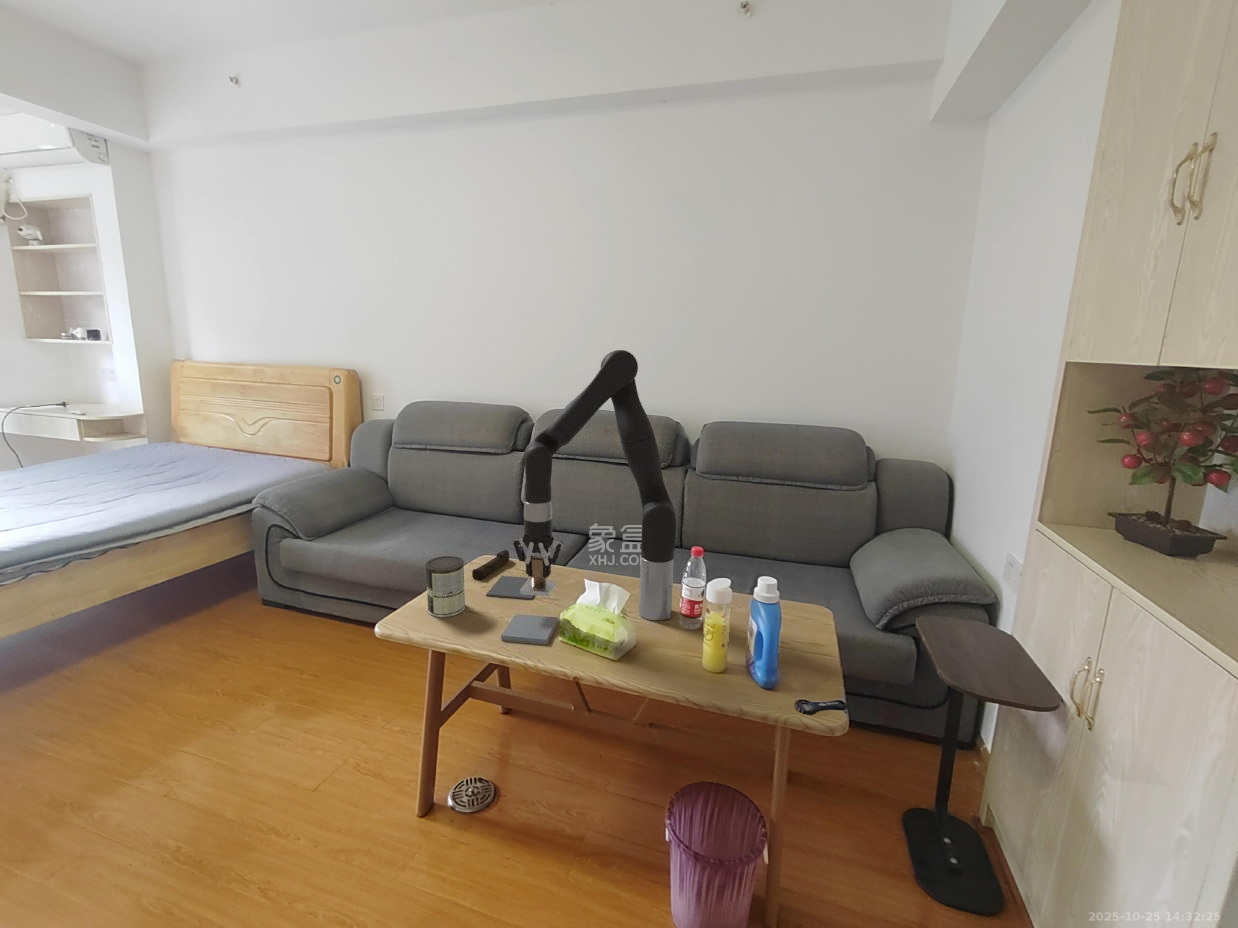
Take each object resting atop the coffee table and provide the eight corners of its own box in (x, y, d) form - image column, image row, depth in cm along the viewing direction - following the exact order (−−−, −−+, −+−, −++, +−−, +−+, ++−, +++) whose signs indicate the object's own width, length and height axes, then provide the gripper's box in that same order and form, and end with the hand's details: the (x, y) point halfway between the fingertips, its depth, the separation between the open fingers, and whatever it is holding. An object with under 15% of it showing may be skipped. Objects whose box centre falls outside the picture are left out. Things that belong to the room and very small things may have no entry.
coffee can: (419, 612, 156) (417, 565, 153) (445, 597, 165) (443, 553, 162) (447, 620, 152) (445, 572, 149) (472, 605, 161) (471, 559, 158)
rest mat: (543, 580, 179) (543, 578, 179) (531, 599, 165) (531, 597, 165) (501, 577, 181) (501, 575, 181) (486, 595, 167) (486, 594, 167)
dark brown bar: (481, 582, 177) (481, 568, 176) (471, 579, 179) (471, 566, 178) (515, 562, 194) (515, 549, 194) (506, 560, 196) (505, 547, 195)
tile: (558, 617, 152) (546, 639, 141) (558, 623, 153) (546, 645, 141) (515, 613, 154) (501, 635, 142) (515, 619, 154) (501, 641, 142)
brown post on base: (556, 584, 157) (556, 553, 155) (548, 596, 149) (548, 564, 147) (528, 581, 158) (528, 551, 156) (520, 593, 150) (519, 561, 148)
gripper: (567, 514, 152) (566, 572, 155) (517, 510, 154) (517, 568, 157) (560, 522, 145) (560, 583, 148) (507, 518, 146) (508, 579, 150)
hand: (538, 575), depth 153 cm, fingers closed on brown post on base, 4 cm apart
